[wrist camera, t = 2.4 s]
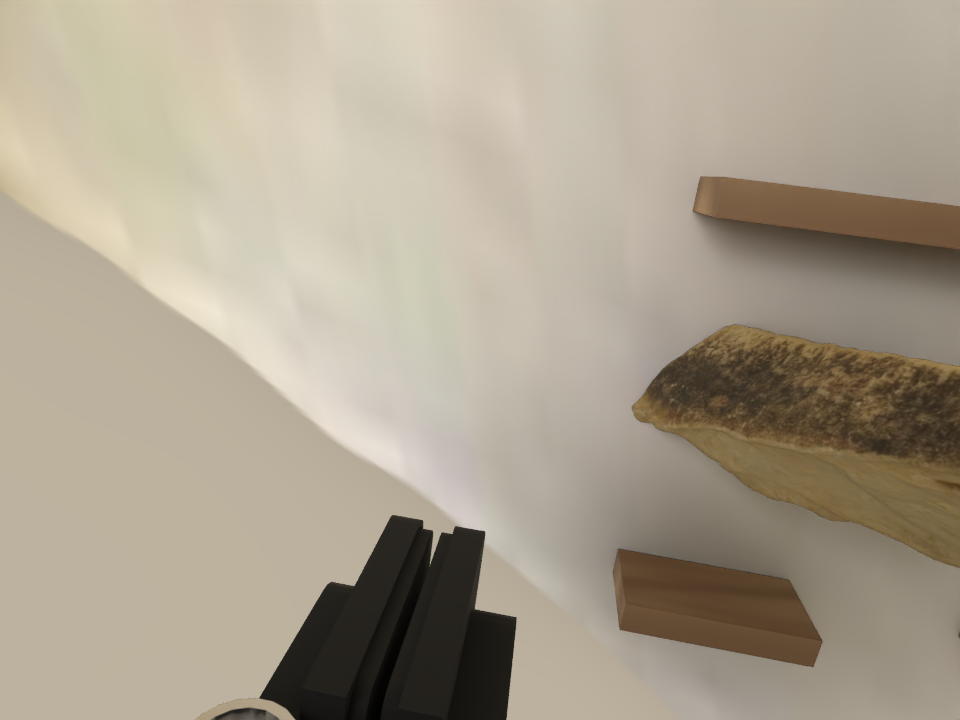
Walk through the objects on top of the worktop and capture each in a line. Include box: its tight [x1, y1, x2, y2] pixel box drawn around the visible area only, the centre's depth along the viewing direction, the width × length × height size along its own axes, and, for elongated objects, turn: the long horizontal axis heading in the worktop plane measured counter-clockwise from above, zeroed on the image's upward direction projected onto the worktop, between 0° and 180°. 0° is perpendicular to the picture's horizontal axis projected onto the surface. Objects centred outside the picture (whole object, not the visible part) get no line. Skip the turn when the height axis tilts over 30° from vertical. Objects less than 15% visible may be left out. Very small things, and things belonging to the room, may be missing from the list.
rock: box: [632, 324, 960, 568], centre depth 17 cm, size 11×9×10 cm
